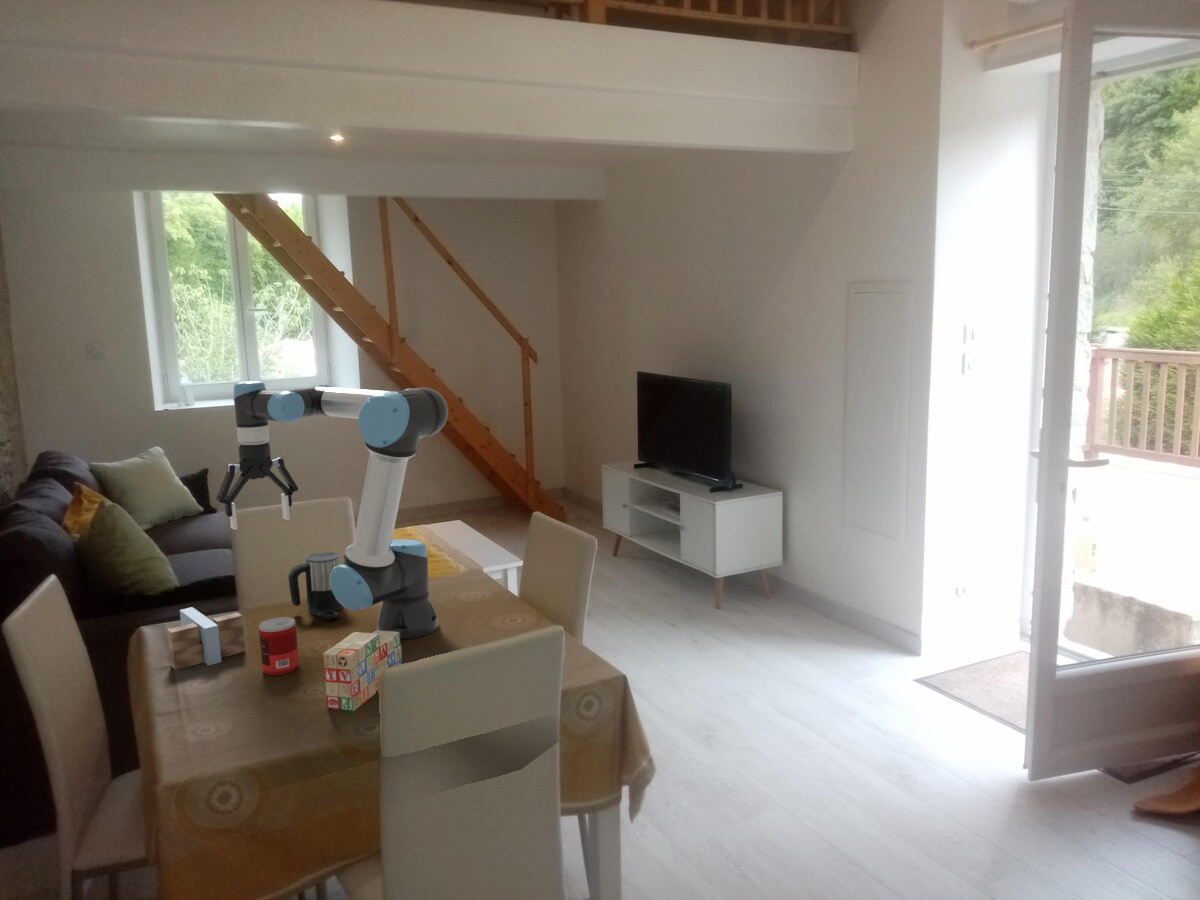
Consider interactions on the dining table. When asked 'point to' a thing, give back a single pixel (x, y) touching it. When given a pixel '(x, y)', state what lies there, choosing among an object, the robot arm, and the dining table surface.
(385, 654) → the stack of blocks
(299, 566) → the milk frother
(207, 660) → the pale blue flat block
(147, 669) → the dining table surface
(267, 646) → the canned food
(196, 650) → the light brown wooden block
